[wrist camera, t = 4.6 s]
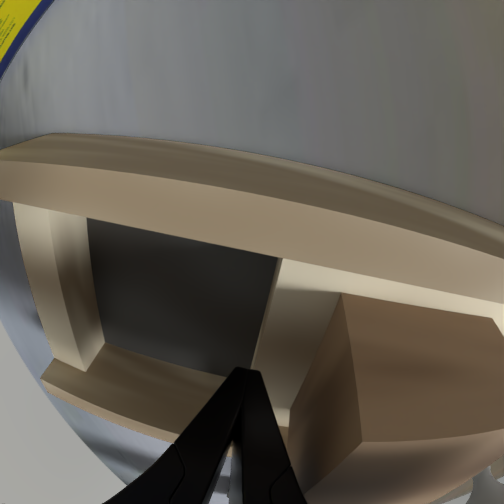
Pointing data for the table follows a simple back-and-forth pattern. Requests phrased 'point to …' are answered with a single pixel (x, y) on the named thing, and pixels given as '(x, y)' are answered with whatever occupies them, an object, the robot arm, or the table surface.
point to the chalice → (486, 489)
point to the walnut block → (397, 404)
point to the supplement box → (17, 26)
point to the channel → (218, 267)
